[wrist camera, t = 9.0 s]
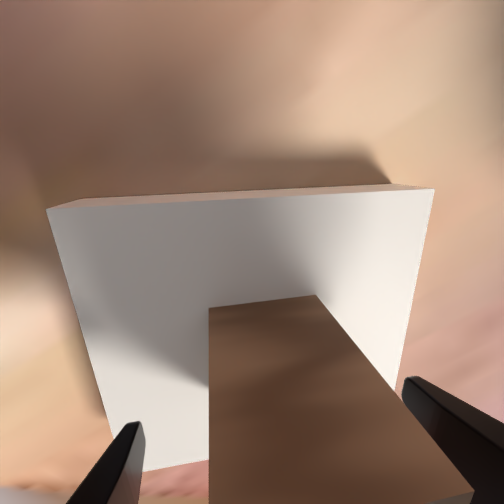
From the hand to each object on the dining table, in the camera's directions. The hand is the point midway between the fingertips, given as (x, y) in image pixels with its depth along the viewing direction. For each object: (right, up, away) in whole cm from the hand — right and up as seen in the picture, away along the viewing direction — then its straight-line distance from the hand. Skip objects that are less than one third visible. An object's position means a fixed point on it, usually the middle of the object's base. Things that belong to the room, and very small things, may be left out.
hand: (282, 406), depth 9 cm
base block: (-1, +2, +5) cm, 6 cm away
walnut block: (0, +1, +3) cm, 3 cm away
